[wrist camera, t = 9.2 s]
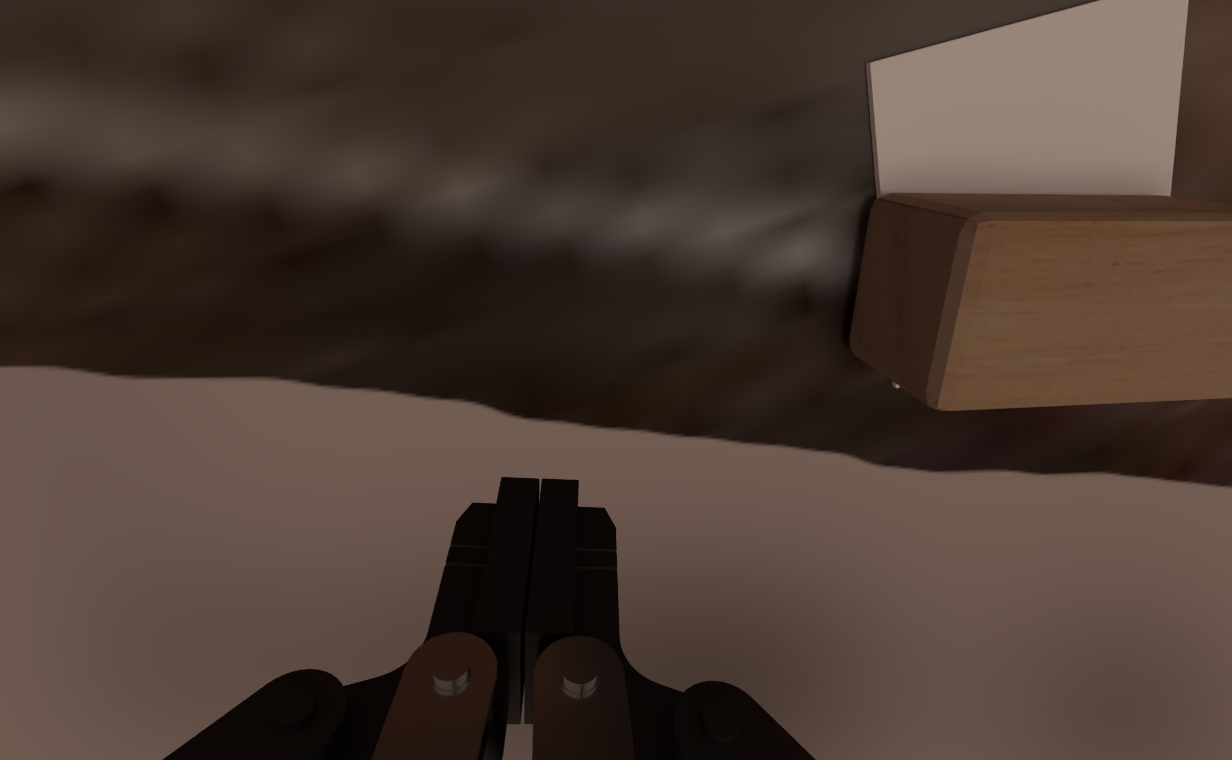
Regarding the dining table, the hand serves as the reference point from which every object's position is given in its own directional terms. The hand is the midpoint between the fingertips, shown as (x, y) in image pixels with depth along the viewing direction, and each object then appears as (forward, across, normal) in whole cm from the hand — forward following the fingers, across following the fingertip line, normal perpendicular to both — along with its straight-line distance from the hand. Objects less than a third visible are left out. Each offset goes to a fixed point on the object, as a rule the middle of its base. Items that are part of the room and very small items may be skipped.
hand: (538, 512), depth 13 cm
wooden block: (+23, -18, +4) cm, 29 cm away
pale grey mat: (+30, -28, +1) cm, 41 cm away
